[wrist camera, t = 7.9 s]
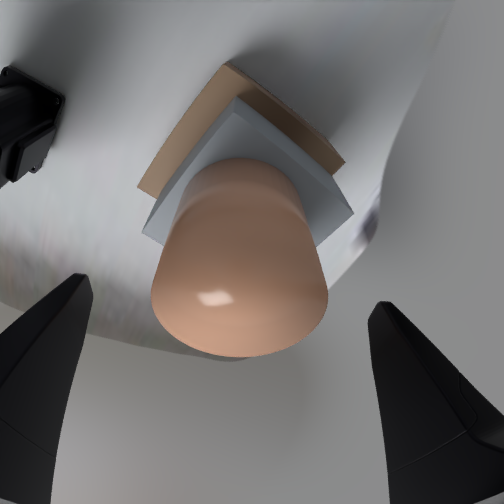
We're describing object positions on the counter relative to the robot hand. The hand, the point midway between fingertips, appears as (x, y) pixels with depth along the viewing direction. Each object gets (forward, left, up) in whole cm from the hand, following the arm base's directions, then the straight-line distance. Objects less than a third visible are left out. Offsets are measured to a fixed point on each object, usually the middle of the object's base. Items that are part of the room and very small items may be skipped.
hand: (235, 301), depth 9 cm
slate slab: (0, 0, -9) cm, 9 cm away
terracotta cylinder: (0, 0, -5) cm, 5 cm away
